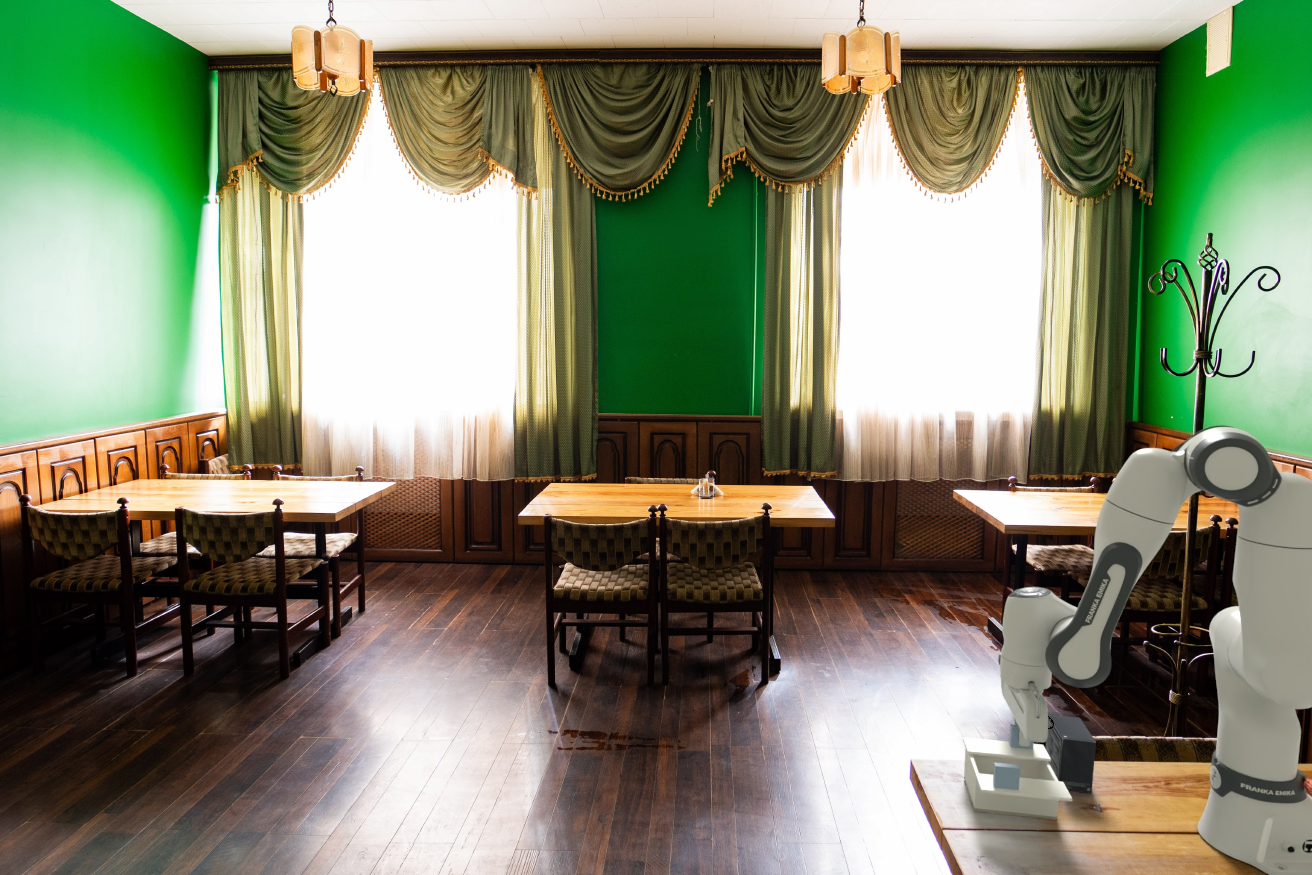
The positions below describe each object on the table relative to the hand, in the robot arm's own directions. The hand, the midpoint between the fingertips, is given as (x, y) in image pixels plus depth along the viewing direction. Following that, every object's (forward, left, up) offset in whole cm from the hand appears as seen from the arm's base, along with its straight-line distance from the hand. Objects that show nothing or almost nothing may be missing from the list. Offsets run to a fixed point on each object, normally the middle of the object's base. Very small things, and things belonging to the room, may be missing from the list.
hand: (1021, 740), depth 156 cm
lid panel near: (+3, +14, -2) cm, 15 cm away
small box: (-10, -5, -9) cm, 14 cm away
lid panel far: (+3, +1, -2) cm, 4 cm away
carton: (+3, +5, -9) cm, 11 cm away
